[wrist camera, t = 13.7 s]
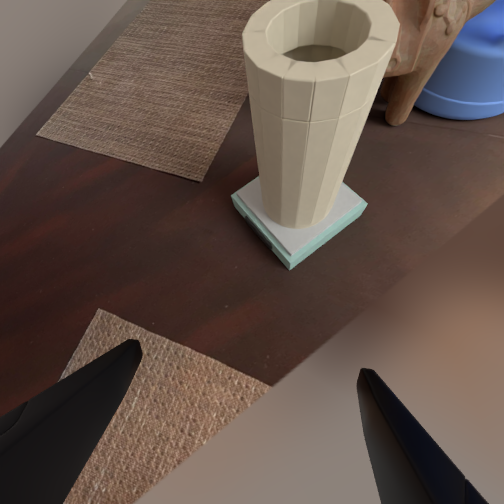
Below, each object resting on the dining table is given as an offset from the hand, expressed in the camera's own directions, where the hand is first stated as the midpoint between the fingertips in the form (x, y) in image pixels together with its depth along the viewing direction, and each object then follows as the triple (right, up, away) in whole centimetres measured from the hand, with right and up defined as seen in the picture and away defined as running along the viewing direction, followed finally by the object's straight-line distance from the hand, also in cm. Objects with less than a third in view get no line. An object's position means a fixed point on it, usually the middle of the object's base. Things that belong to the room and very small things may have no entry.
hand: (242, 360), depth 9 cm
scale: (+5, +9, +17) cm, 20 cm away
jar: (+5, +10, +15) cm, 18 cm away
